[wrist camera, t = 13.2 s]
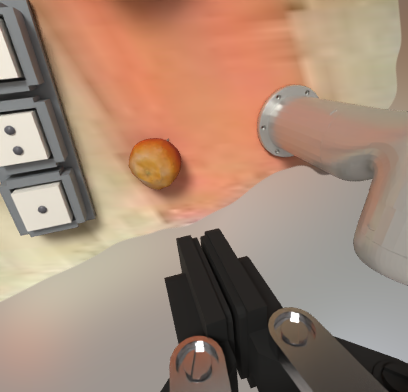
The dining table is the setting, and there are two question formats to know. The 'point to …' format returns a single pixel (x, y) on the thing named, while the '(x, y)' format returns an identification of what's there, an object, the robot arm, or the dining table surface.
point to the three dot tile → (8, 55)
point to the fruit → (155, 162)
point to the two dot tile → (22, 138)
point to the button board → (50, 119)
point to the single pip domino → (43, 205)
